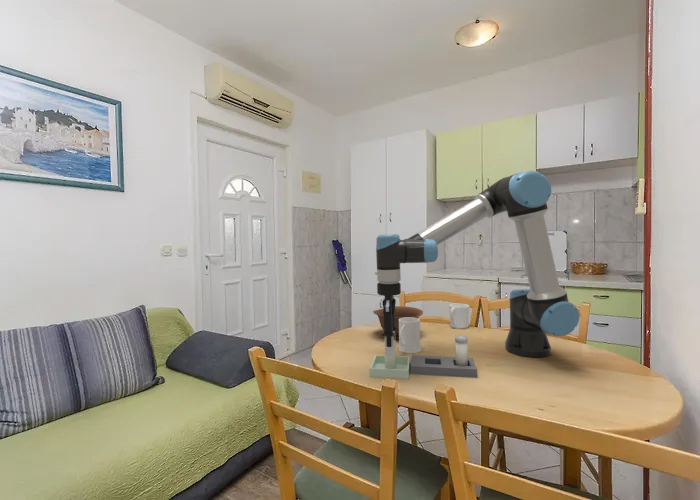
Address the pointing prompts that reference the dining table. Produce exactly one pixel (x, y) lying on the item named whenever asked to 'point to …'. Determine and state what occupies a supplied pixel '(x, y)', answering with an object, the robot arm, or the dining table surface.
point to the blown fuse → (391, 361)
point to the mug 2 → (459, 315)
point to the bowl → (399, 315)
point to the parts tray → (380, 371)
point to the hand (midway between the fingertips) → (390, 353)
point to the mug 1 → (409, 335)
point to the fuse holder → (446, 362)
